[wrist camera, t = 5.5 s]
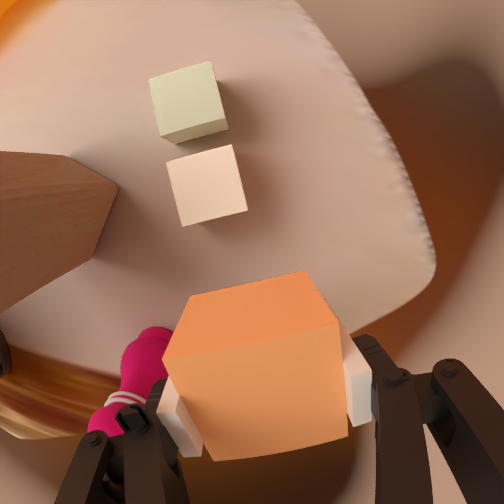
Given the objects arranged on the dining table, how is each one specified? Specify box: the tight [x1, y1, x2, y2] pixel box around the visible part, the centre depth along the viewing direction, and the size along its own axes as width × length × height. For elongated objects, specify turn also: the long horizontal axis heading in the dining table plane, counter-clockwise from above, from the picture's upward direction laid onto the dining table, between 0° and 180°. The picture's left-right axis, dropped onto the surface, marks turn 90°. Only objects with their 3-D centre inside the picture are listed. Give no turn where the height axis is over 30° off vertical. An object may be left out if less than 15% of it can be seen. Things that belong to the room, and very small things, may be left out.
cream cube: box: [166, 144, 248, 227], centre depth 28 cm, size 6×6×6 cm
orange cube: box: [162, 270, 348, 461], centre depth 13 cm, size 6×6×6 cm
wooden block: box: [0, 151, 118, 313], centre depth 21 cm, size 10×10×20 cm
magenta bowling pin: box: [88, 327, 173, 437], centre depth 26 cm, size 7×7×20 cm
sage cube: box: [149, 61, 229, 144], centre depth 26 cm, size 6×6×6 cm
